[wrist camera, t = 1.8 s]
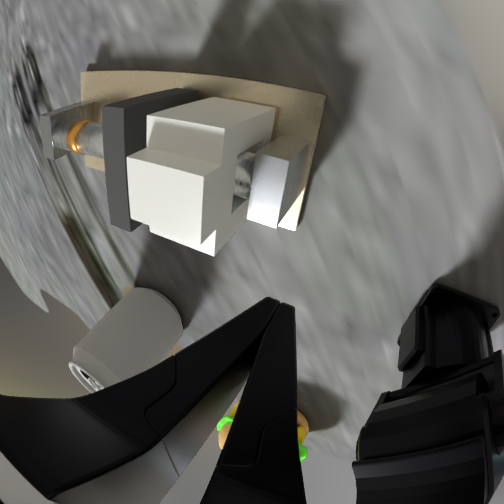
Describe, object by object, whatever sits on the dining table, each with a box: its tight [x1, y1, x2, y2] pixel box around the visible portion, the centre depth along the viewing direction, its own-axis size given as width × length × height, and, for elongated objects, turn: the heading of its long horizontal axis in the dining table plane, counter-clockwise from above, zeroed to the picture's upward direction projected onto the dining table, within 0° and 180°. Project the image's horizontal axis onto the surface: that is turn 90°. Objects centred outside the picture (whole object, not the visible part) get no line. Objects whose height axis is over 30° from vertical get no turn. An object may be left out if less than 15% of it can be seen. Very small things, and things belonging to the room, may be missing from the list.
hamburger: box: [217, 400, 309, 462], centre depth 34 cm, size 12×12×9 cm
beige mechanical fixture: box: [40, 70, 327, 231], centre depth 19 cm, size 20×9×5 cm, turn 82°
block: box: [102, 88, 197, 232], centre depth 17 cm, size 2×7×6 cm, turn 173°
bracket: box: [127, 97, 276, 256], centre depth 16 cm, size 4×6×8 cm, turn 172°
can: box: [69, 287, 183, 393], centre depth 29 cm, size 8×8×12 cm
